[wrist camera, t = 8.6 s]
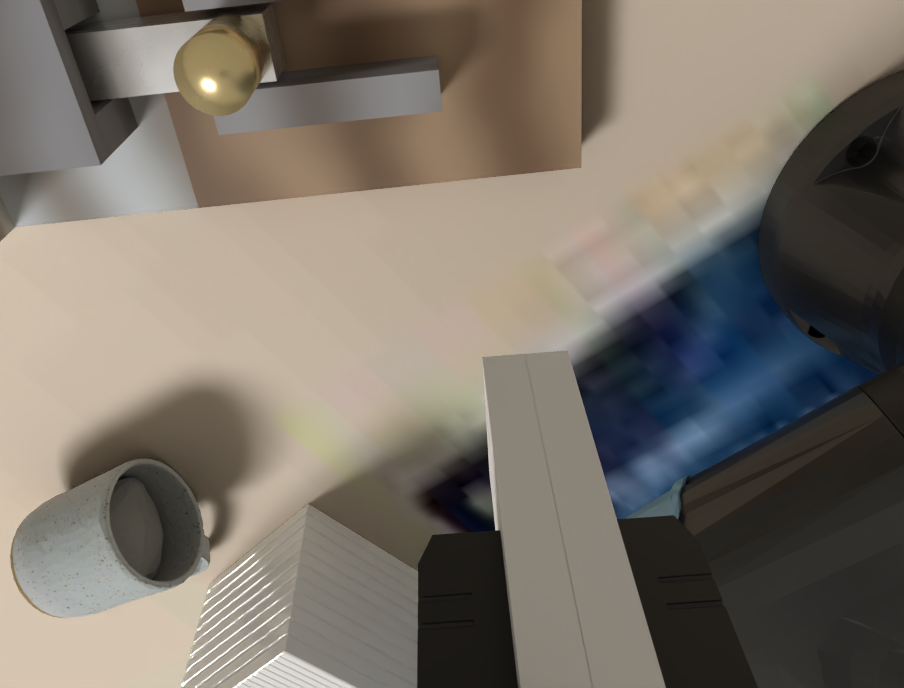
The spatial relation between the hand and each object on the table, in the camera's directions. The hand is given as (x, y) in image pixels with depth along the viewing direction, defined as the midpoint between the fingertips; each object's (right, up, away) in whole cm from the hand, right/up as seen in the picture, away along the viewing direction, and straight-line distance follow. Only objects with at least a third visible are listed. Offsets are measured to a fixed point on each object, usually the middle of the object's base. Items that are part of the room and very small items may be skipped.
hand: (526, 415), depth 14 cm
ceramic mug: (-21, -9, +34) cm, 41 cm away
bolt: (-14, +13, +16) cm, 25 cm away
